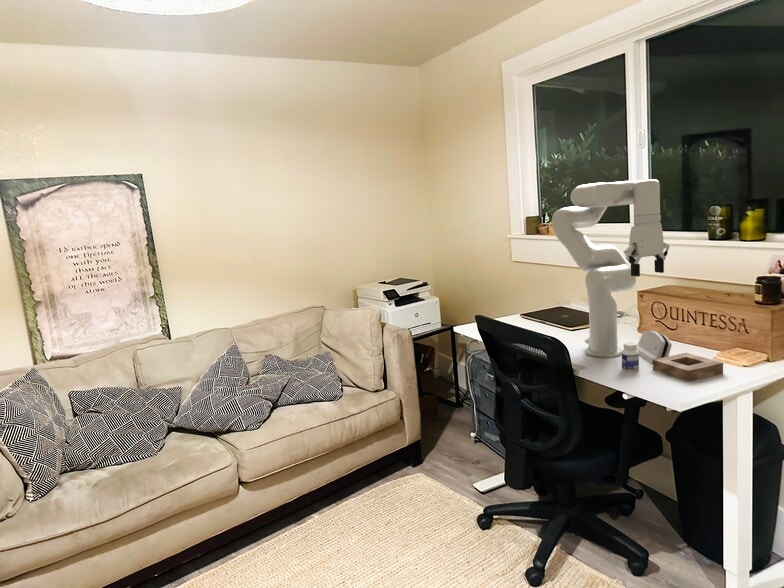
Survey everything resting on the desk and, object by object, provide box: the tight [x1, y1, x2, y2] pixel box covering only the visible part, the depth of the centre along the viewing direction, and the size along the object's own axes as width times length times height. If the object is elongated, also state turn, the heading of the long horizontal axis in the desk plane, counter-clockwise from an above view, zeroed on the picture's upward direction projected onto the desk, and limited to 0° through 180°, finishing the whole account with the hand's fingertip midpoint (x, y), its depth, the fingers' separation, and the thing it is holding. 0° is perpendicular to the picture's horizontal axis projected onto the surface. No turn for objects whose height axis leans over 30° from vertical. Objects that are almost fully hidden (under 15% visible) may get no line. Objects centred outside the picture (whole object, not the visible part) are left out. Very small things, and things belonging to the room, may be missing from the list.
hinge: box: [636, 330, 673, 365], centre depth 196 cm, size 17×5×10 cm, turn 179°
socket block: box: [652, 352, 724, 383], centre depth 179 cm, size 14×14×4 cm
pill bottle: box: [621, 341, 640, 373], centre depth 185 cm, size 5×5×9 cm
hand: (647, 274), depth 178 cm, fingers open, 9 cm apart
